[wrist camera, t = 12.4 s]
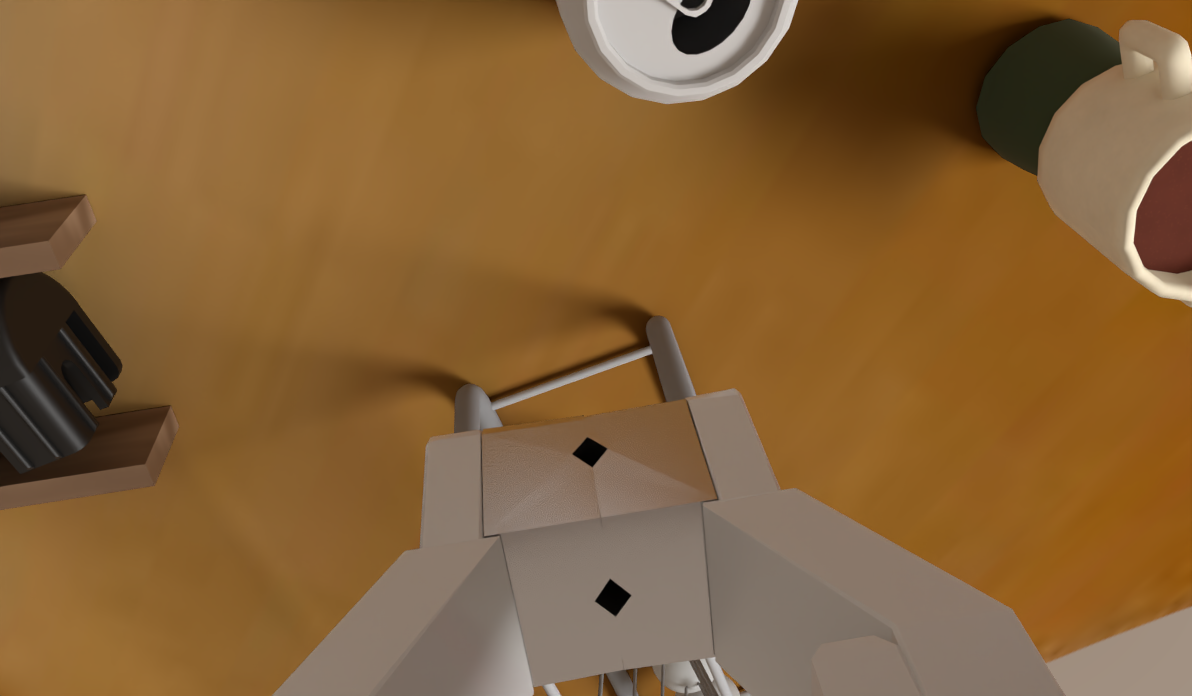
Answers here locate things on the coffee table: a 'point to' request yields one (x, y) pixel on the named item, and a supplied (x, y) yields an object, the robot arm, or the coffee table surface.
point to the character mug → (1104, 139)
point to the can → (675, 43)
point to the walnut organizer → (121, 441)
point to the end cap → (49, 372)
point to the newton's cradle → (696, 681)
